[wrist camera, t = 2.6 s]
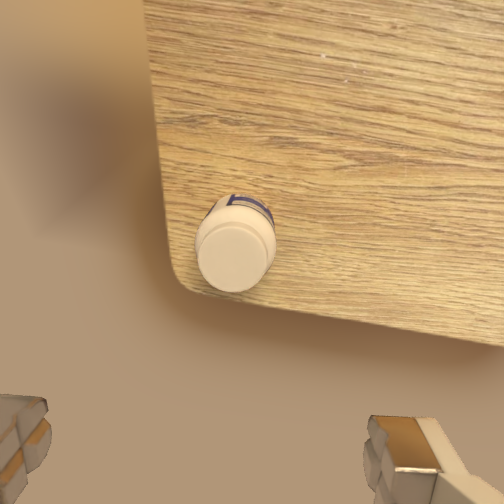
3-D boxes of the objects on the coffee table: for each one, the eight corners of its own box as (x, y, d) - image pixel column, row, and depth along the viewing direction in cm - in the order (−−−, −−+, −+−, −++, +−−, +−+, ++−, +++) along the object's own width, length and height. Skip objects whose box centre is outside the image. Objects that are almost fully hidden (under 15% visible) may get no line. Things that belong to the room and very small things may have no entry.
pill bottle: (230, 267, 30) (216, 318, 22) (195, 213, 29) (166, 245, 20) (286, 236, 29) (295, 277, 21) (253, 178, 28) (247, 197, 19)
